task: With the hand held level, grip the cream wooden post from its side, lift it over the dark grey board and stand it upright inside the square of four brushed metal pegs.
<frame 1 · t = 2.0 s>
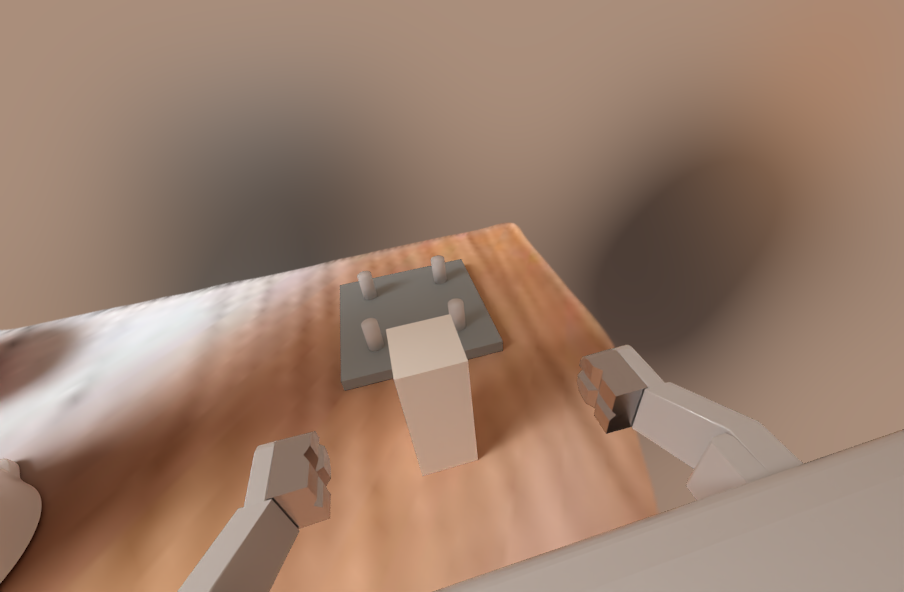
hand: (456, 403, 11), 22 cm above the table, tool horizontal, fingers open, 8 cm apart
peg cradle: (413, 318, 48), on the table
cream post: (444, 442, 34), on the table
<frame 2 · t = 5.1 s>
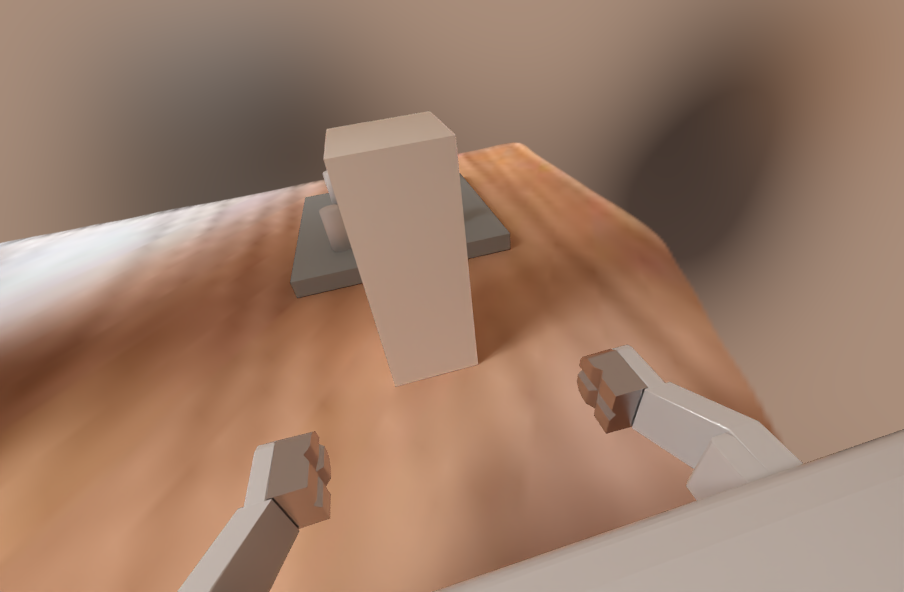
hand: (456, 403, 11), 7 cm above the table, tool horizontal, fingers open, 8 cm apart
peg cradle: (394, 226, 38), on the table
cream post: (429, 346, 24), on the table
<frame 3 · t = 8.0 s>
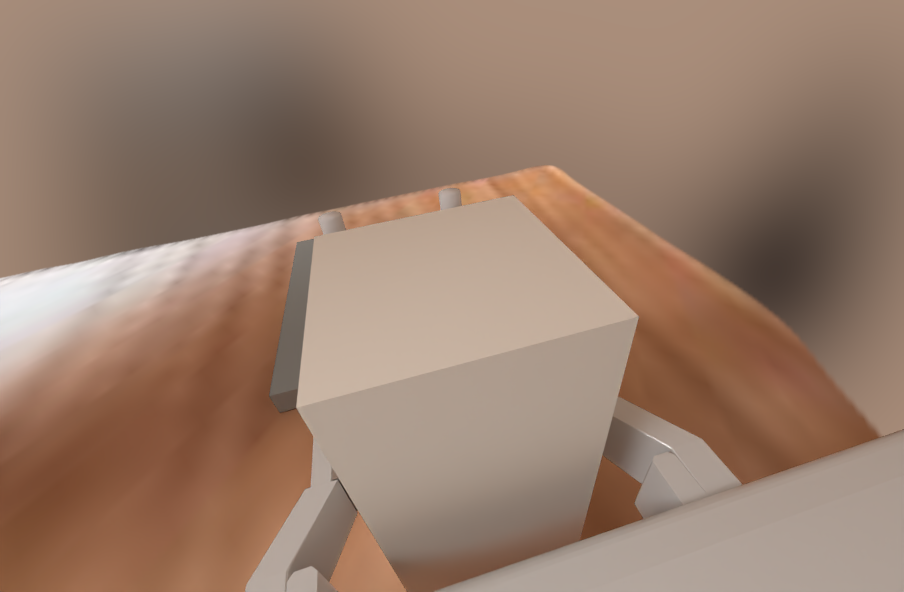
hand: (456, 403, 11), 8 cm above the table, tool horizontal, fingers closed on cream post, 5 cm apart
peg cradle: (411, 287, 29), on the table
cream post: (480, 534, 15), on the table, touching gripper
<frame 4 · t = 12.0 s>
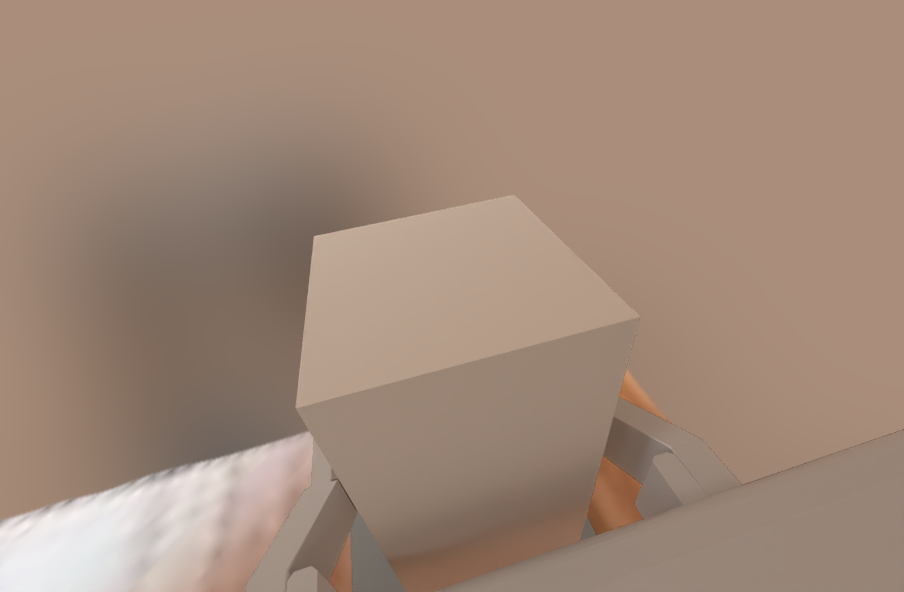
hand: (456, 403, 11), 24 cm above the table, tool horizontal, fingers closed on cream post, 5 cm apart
cream post: (480, 534, 15), point 16 cm above the table, touching gripper
when the fingers open (10 cm above the table, at t = 16.0 s): cream post drops 1 cm, resting on peg cradle.
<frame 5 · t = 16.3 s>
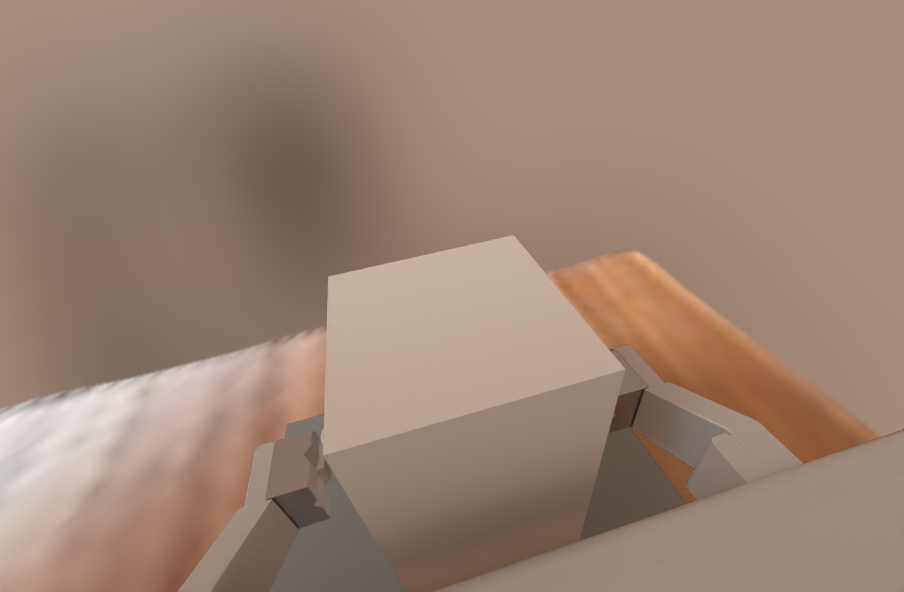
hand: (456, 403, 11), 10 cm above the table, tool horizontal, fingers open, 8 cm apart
peg cradle: (483, 556, 17), on the table
cream post: (481, 545, 16), point 1 cm above the table, touching peg cradle
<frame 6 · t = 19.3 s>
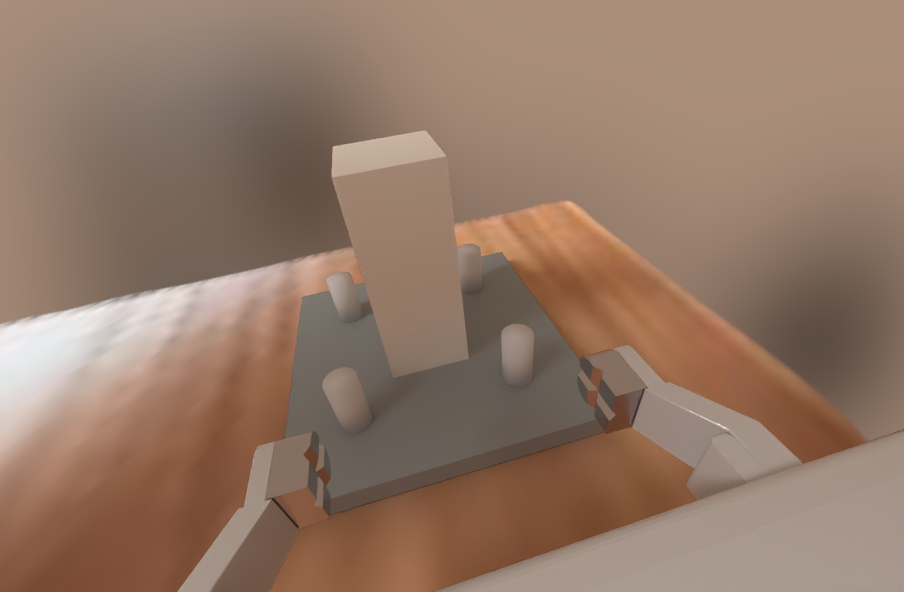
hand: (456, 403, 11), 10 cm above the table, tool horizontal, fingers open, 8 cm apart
peg cradle: (427, 356, 27), on the table
cream post: (424, 342, 26), point 1 cm above the table, touching peg cradle
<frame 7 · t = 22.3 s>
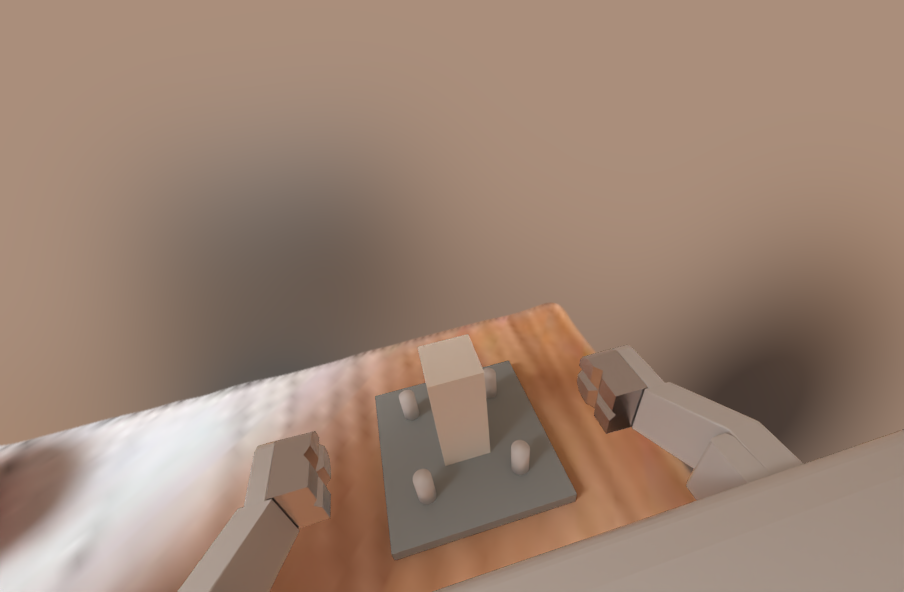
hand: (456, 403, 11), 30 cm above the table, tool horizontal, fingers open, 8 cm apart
peg cradle: (462, 445, 42), on the table
cream post: (461, 438, 41), point 1 cm above the table, touching peg cradle
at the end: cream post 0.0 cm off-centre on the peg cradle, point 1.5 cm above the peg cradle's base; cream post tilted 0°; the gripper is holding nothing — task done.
